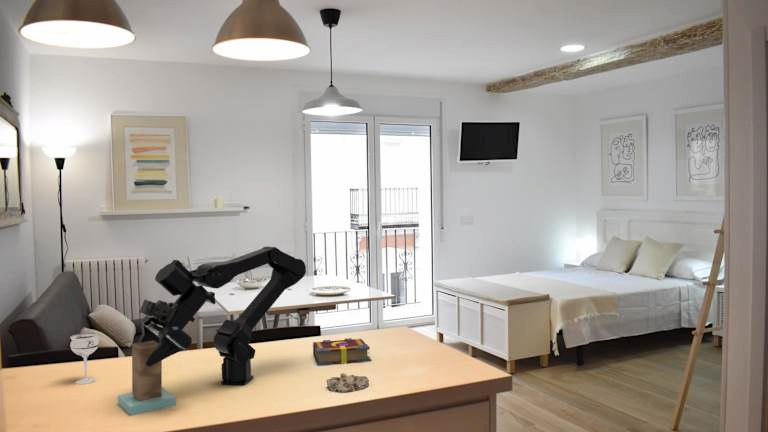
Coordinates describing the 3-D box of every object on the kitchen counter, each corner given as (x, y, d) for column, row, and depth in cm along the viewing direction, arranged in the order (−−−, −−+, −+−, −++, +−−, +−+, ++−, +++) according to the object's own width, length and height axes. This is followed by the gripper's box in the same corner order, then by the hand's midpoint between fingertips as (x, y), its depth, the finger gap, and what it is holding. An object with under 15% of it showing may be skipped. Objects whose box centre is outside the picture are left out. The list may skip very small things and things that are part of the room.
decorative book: (312, 356, 180) (312, 339, 179) (365, 352, 183) (365, 335, 183) (317, 367, 169) (317, 349, 168) (373, 362, 172) (373, 345, 172)
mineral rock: (328, 386, 144) (325, 368, 152) (327, 402, 146) (324, 383, 153) (372, 384, 146) (367, 366, 154) (371, 400, 148) (366, 381, 155)
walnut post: (154, 389, 143) (154, 340, 142) (161, 396, 139) (161, 345, 139) (132, 394, 140) (132, 343, 139) (139, 401, 136) (139, 349, 135)
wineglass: (71, 379, 159) (69, 334, 159) (99, 375, 163) (97, 331, 162) (72, 386, 154) (70, 340, 153) (101, 382, 157) (99, 336, 156)
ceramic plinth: (161, 396, 147) (161, 386, 147) (175, 407, 139) (175, 397, 139) (118, 406, 141) (117, 395, 140) (130, 418, 133) (130, 407, 133)
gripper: (147, 282, 149) (101, 334, 142) (176, 291, 134) (126, 349, 128) (180, 309, 154) (137, 360, 147) (211, 320, 140) (164, 378, 133)
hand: (140, 361), depth 139 cm, fingers open, 9 cm apart
